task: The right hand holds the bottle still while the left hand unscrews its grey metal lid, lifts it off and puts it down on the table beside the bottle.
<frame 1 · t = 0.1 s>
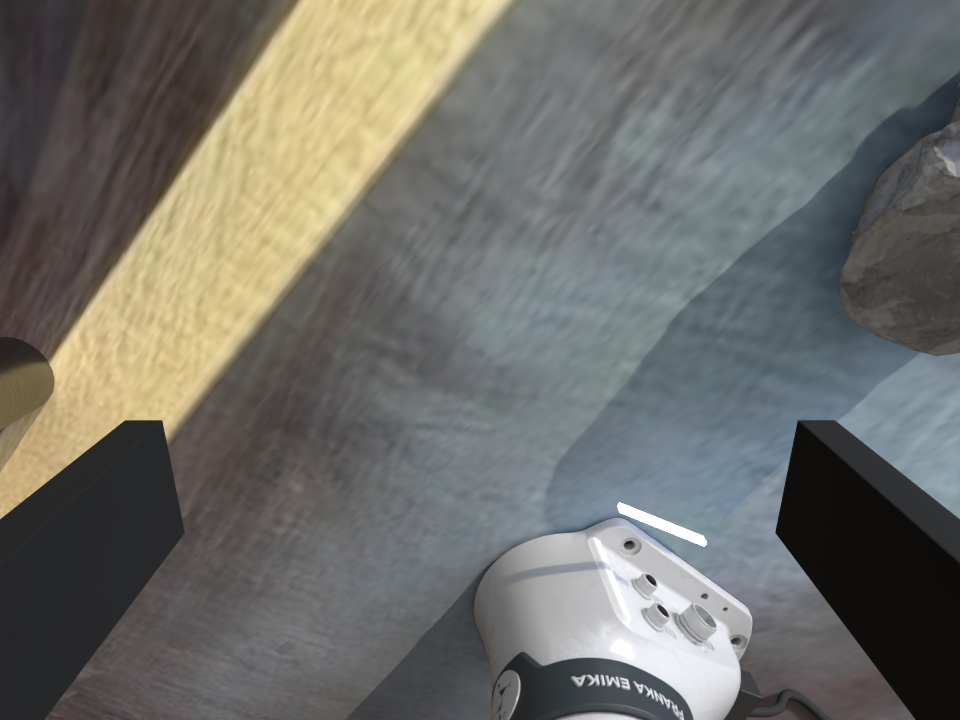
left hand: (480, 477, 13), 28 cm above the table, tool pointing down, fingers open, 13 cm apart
bottle: (14, 373, 42), on the table
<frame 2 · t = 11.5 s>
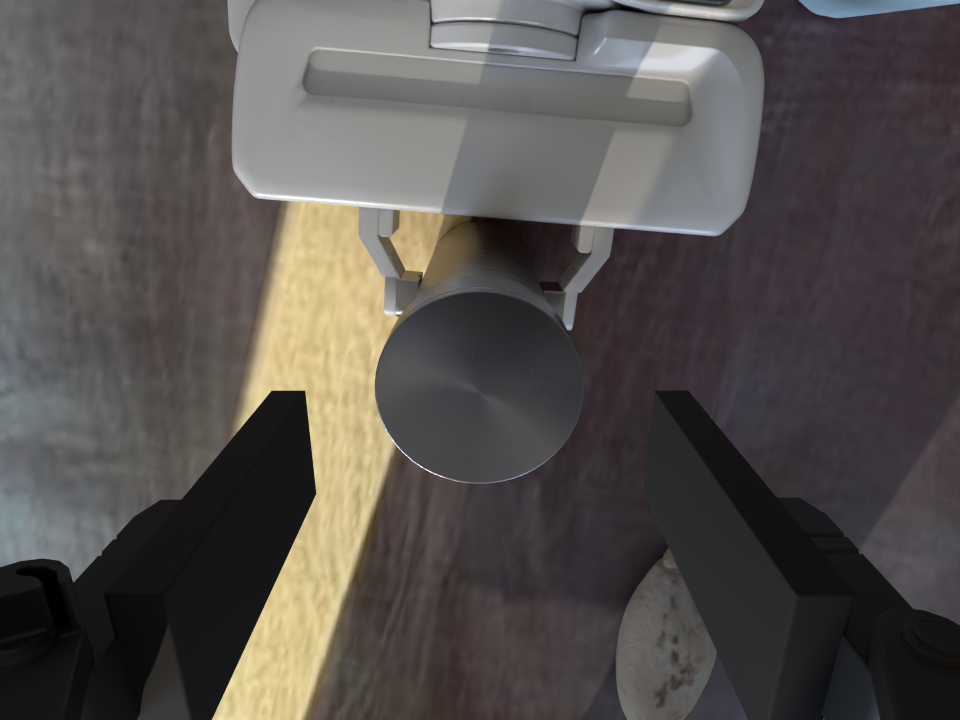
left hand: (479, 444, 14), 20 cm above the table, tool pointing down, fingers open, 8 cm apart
right hand: (479, 320, 27), fingers closed on bottle, 5 cm apart
lid: (479, 388, 17), point 16 cm above the table, screwed on, not yet turned
bottle: (480, 270, 33), on the table, touching right hand
decorative stone: (660, 621, 41), on the table
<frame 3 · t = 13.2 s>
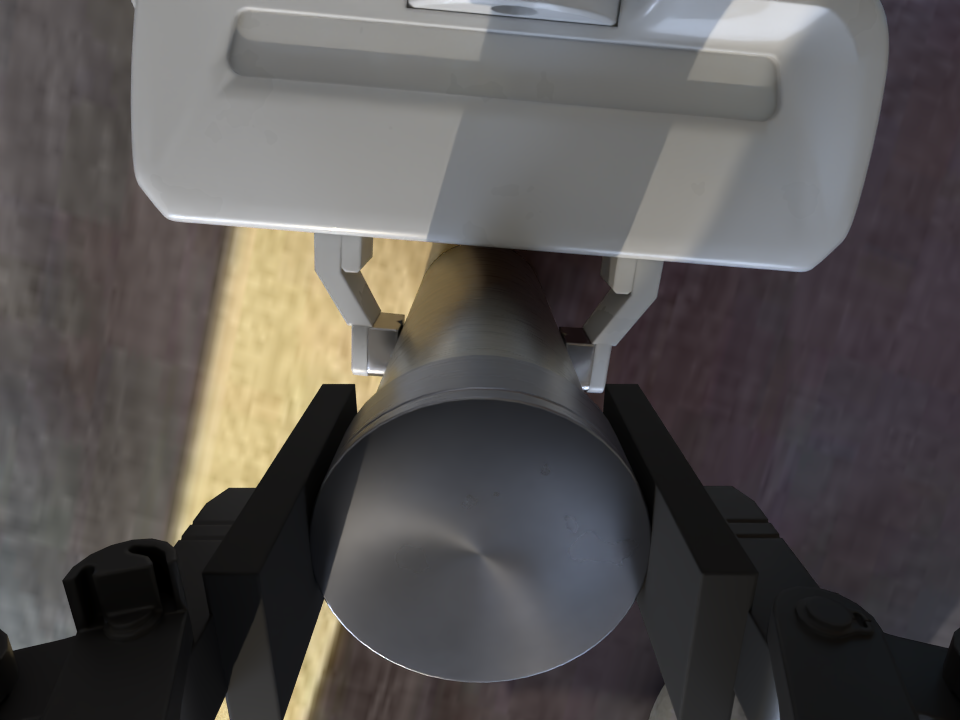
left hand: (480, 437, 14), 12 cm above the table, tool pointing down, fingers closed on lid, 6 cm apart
right hand: (479, 378, 20), fingers closed on bottle, 5 cm apart
lid: (480, 541, 11), point 16 cm above the table, screwed on, not yet turned, touching left hand
bottle: (480, 303, 26), on the table, touching right hand
decorative stone: (694, 713, 34), on the table
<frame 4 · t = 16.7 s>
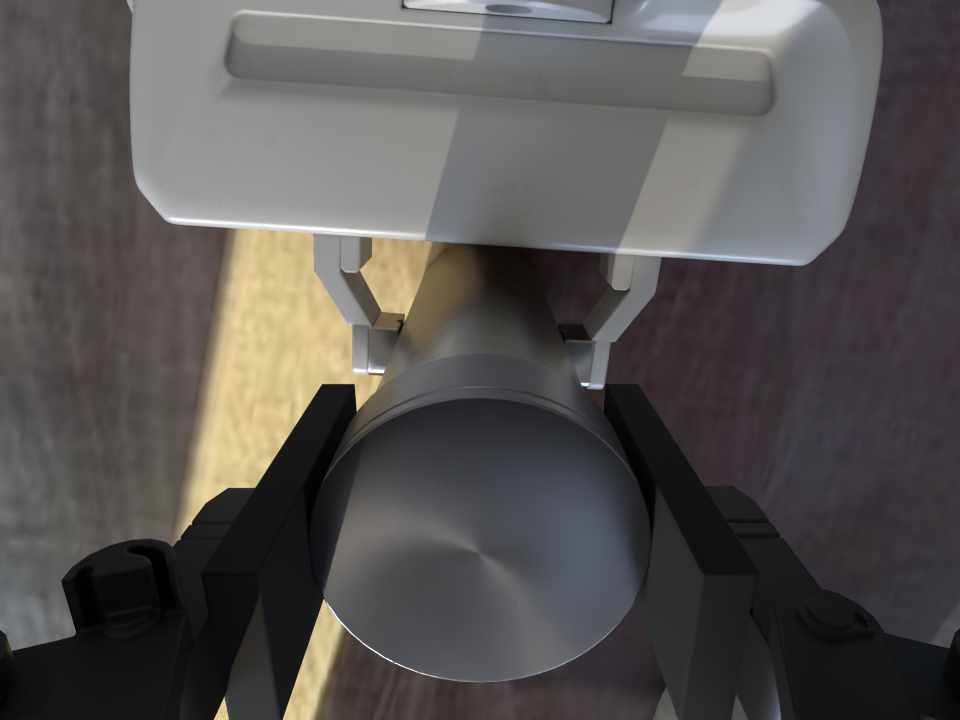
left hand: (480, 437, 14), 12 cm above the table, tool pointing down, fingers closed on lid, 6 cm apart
right hand: (479, 376, 20), fingers closed on bottle, 5 cm apart
lid: (480, 541, 11), point 16 cm above the table, turned 108° so far, risen 0.1 cm, still on its thread, touching left hand
bottle: (480, 302, 26), on the table, touching right hand
decorative stone: (700, 709, 34), on the table
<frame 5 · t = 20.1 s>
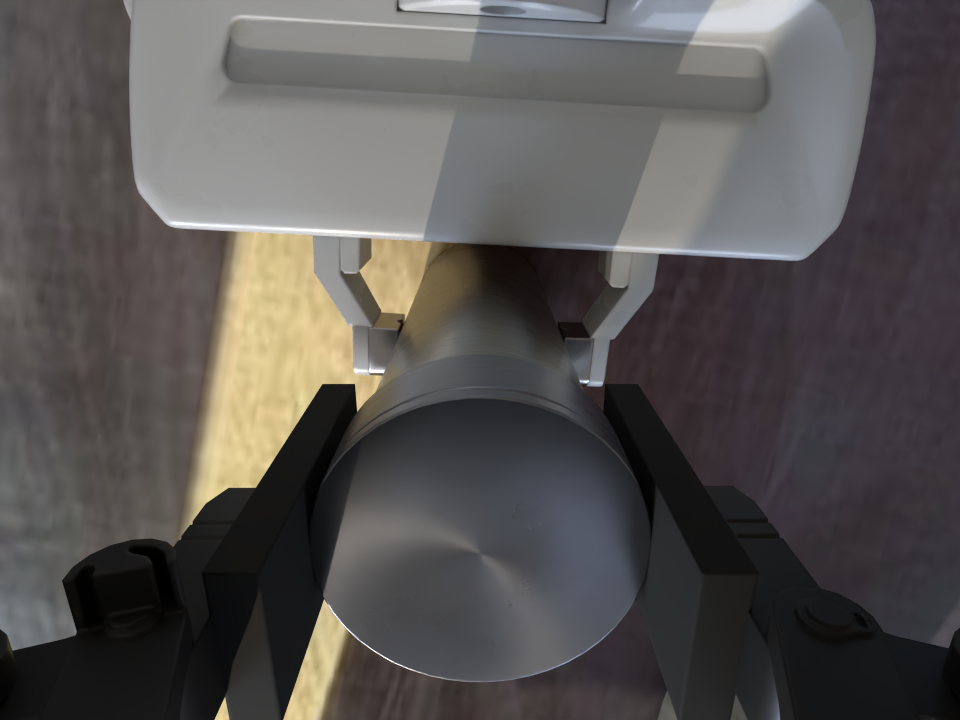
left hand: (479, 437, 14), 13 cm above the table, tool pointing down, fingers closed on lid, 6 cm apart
right hand: (480, 375, 21), fingers closed on bottle, 5 cm apart
lid: (480, 541, 11), point 17 cm above the table, turned 217° so far, risen 0.2 cm, still on its thread, touching left hand
bottle: (480, 301, 26), on the table, touching right hand
decorative stone: (705, 705, 34), on the table
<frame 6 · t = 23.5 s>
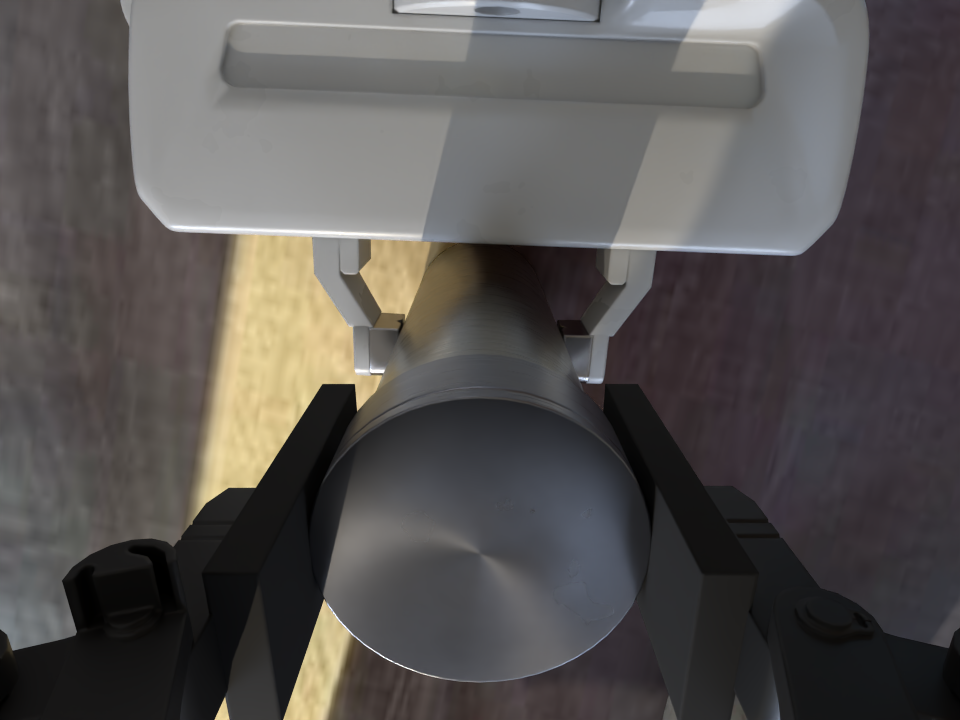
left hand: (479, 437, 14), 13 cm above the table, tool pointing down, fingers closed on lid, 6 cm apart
right hand: (480, 374, 21), fingers closed on bottle, 5 cm apart
lid: (480, 541, 11), point 17 cm above the table, turned 325° so far, risen 0.4 cm, still on its thread, touching left hand
bottle: (480, 301, 26), on the table, touching right hand
decorative stone: (710, 701, 34), on the table
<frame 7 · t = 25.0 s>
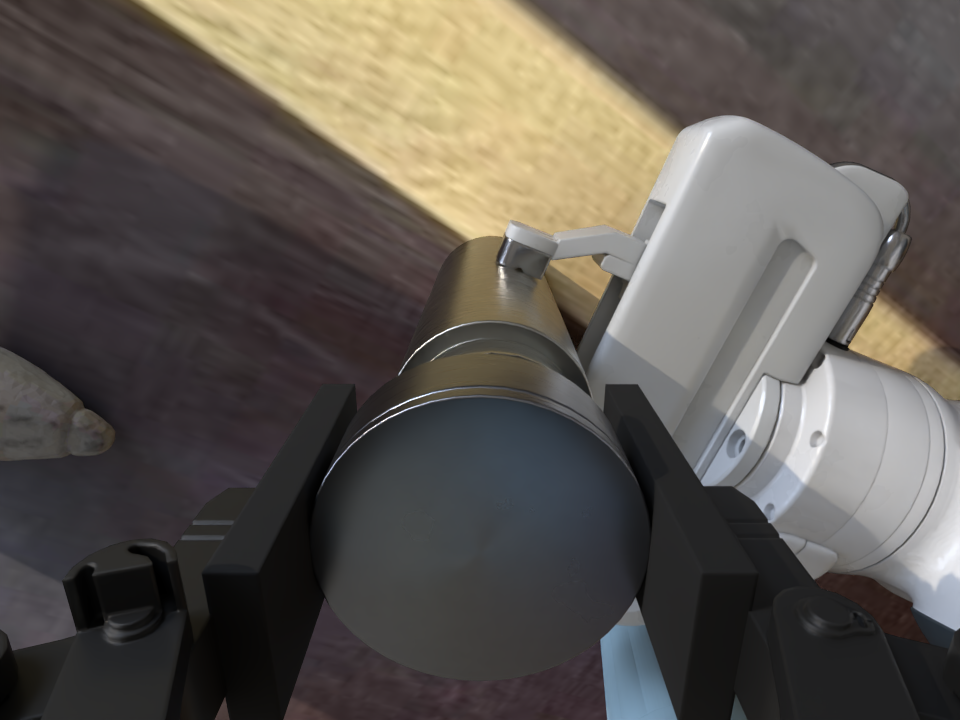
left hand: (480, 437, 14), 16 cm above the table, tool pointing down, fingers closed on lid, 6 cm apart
right hand: (469, 322, 23), fingers closed on bottle, 5 cm apart
cup: (644, 622, 36), on the table
lid: (480, 539, 11), point 20 cm above the table, off its thread, touching left hand
bottle: (491, 291, 29), on the table, touching right hand
when the left hand's fingers open (0 cm above the table, at t = 30.1 s): lid stays where it is, point 2 cm above the table.
when the right hand's fingers open (6 cm above the table, at t = 31.2 s): bottle stays where it is, on the table.
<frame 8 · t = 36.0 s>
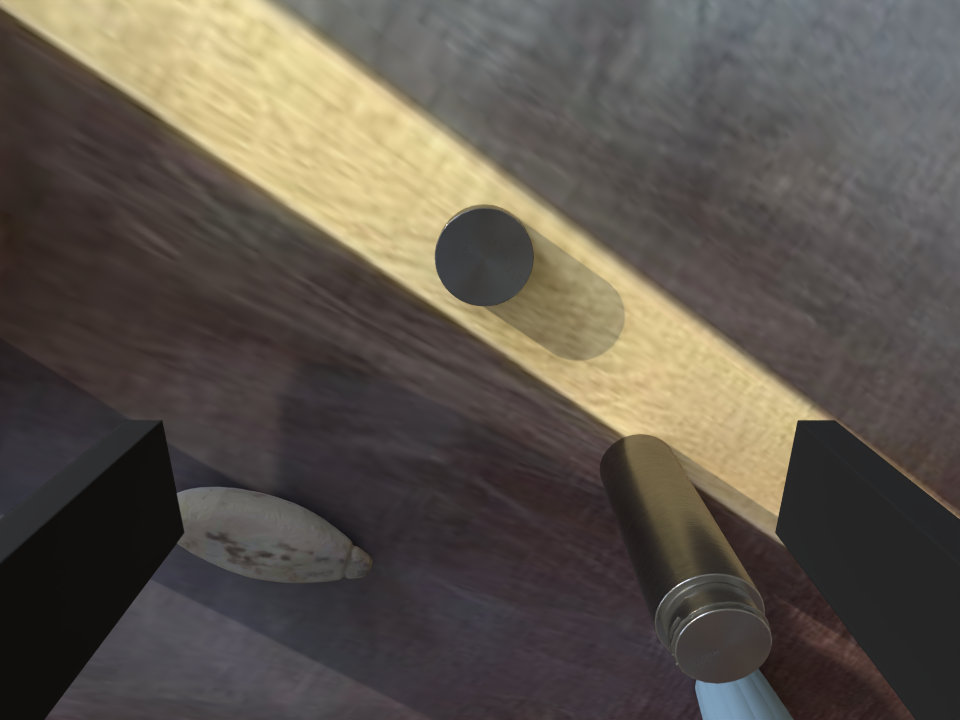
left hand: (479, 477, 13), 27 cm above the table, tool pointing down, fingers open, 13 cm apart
cup: (727, 680, 50), on the table
lid: (484, 257, 36), point 2 cm above the table, off its thread
bottle: (637, 467, 43), on the table
decorative stone: (273, 523, 45), on the table
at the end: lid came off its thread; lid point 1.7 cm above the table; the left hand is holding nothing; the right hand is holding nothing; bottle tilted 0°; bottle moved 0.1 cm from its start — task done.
